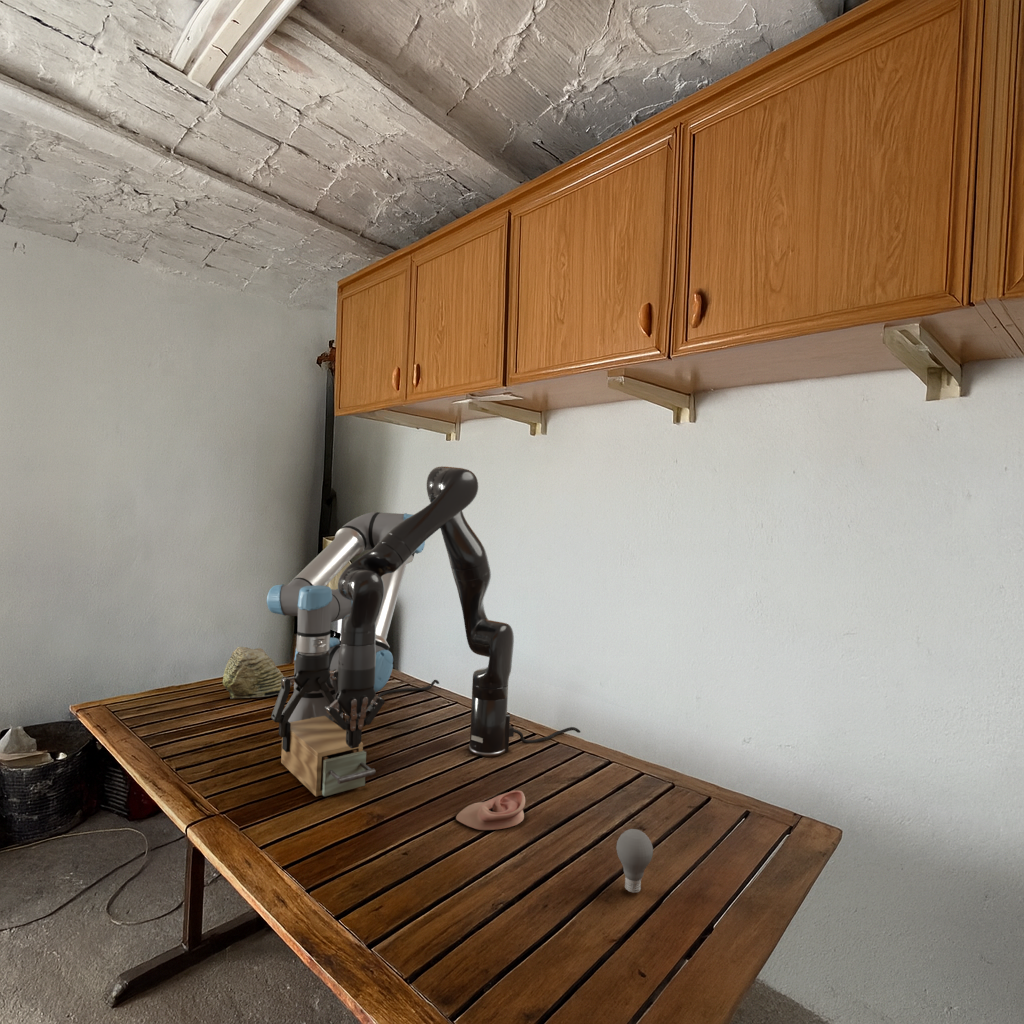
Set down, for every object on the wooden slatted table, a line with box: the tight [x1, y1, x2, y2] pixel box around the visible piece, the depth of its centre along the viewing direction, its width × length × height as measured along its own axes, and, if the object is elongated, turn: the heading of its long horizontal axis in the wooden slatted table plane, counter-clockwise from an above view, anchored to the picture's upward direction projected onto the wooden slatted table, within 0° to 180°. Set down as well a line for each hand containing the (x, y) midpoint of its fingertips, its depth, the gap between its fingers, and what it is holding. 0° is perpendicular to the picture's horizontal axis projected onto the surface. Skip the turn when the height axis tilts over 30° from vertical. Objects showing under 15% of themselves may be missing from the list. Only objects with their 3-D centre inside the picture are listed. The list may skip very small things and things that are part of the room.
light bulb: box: [615, 828, 654, 894], centre depth 106 cm, size 6×6×10 cm
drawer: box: [321, 749, 376, 798], centre depth 140 cm, size 25×9×7 cm, turn 40°
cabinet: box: [280, 716, 364, 798], centre depth 145 cm, size 21×10×9 cm, turn 40°
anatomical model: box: [455, 789, 526, 831], centre depth 128 cm, size 13×4×12 cm
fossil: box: [222, 646, 285, 699], centre depth 198 cm, size 9×18×15 cm, turn 132°
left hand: (309, 744), depth 150 cm, fingers closed on cabinet, 10 cm apart
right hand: (353, 746), depth 132 cm, fingers closed
